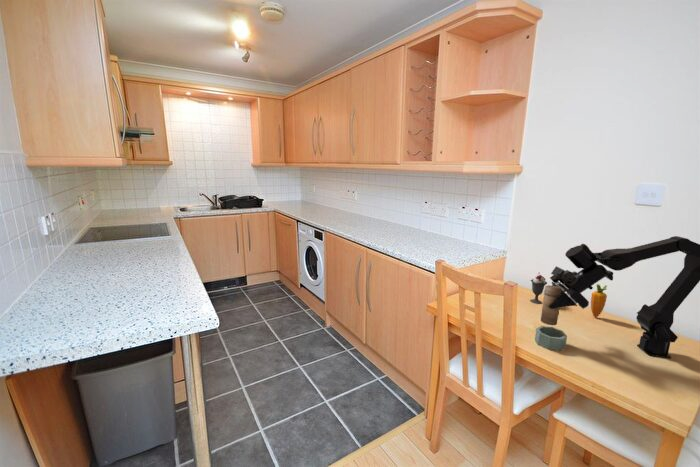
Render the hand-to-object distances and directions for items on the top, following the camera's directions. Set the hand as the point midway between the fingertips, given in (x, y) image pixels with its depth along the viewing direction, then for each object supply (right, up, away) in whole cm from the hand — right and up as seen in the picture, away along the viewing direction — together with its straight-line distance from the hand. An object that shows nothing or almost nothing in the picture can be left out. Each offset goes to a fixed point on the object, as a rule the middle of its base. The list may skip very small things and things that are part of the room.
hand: (546, 304), depth 113 cm
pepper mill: (+1, -7, +1) cm, 7 cm away
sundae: (+17, -7, +36) cm, 40 cm away
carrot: (+33, -10, +20) cm, 40 cm away
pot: (+1, -14, -1) cm, 14 cm away
